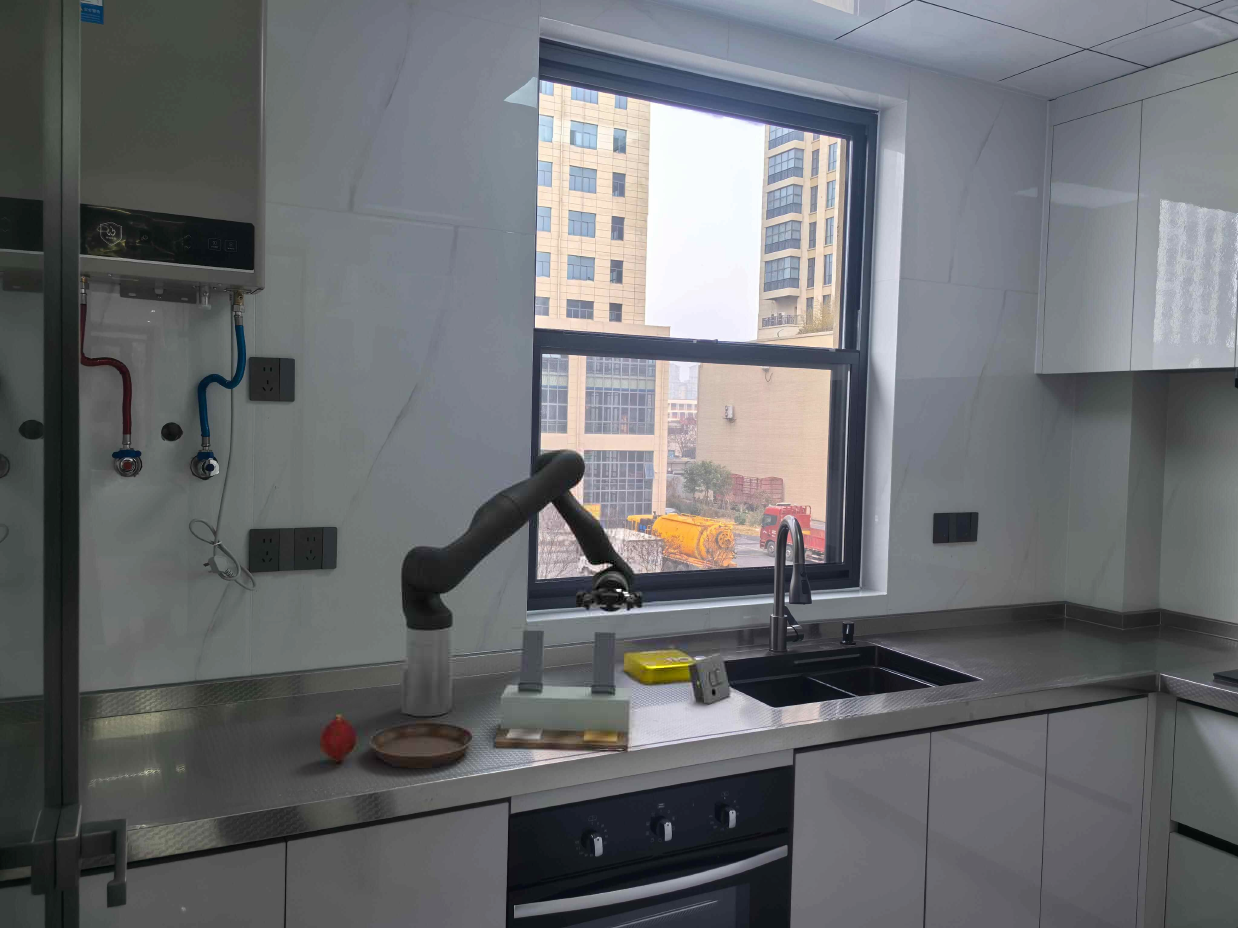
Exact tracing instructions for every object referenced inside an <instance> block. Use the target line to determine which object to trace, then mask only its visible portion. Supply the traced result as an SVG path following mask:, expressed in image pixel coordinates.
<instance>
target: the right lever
mask: <svg viewBox="0 0 1238 928" xmlns="http://www.w3.org/2000/svg"><path fill="white" fill-rule="evenodd" d="M616 633H617V632H602V631H601V632H598V631H597V632H596V631H594V649H593V651H594V652H593V675H592V676H593V678H592V684H591V686H590V687H591V693H615V692H616V688H617V687H616V686H617V685H616V684H615V669H616V667H615V665H616V638H617V637H616V636H617V634H616Z"/></svg>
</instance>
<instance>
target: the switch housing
mask: <svg viewBox="0 0 1238 928" xmlns="http://www.w3.org/2000/svg"><path fill="white" fill-rule="evenodd" d="M630 691H631V689H630V688H629V687H628V688H627V687H626V688H625V687H624V688H623V687H616V692H615V693H591V686H588V687H586V686H556V685H555V686H554V685H553V686H552V685H543V691H518V685H515V684H508V685H507V686H506V688H505V690H504V691H503V693H502V695H501V696H500V729H542V730H564V731H612V732H630V708H631V707H630V706H631V705H630V703H631V701H630V700H631V698H630V697H631V693H630Z"/></svg>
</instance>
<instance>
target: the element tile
mask: <svg viewBox="0 0 1238 928" xmlns="http://www.w3.org/2000/svg"><path fill="white" fill-rule="evenodd" d="M623 657H624V659H623V660H624V664H623V665H624V667H623V671H624V670H625V671H627V672H628V673H629V674H628V673H627V672H626V673H627V674H628V675H630V676H631V675H632V676H631V677H632V678H634V679H635V678H636V679H635V680H637V681H638V682H640V683H641V684H644V685H659V684H673V683H682V682H683V683H684V682H685V681H686V682H691V677H690V672H689V668H688V665H690V664H693V663H696V662H697V660H698V659H695V658H694V657H691V656H690V655H688V654H686V653H684V652H682V651H680V650H678V649H668V650H667V649H666V650H650V651H639V652H638V651H636V652H627V653H625V654H624V655H623ZM625 671H624V672H625ZM698 676H699V675H698ZM696 679H697V678H696ZM686 682H685V683H686Z"/></svg>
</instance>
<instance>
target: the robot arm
mask: <svg viewBox="0 0 1238 928" xmlns="http://www.w3.org/2000/svg"><path fill="white" fill-rule="evenodd" d="M585 470H586V463H585V460H584V458H583V457H582V455H581V454H580V453H579V452H577V451H575V450H573V449H559V450H558V449H557V450H554V451H550V452H549V451H548V452H544V453H542V454H540V455H538V456H537V458H536V459H535V461H534V463H533V467H532V474H533V476H530V477H529V478H526V479H524V480H521V481H519V482H517V483H515V484H513V485H511V486H509V487H506V488H505V489H502V490H501V491H498V493H497V494H494V495H493V496H492V497H491V498H489V499H488V500H487V501H486V502H484V503H483V504H482V505H481V506H479V508H478V509H477V510H476V511H475V513H474V515H473V517H472V519H471V522H470V525H469V527H468V529H467V530H466V531H465V532H464V534H462V535H461V536H460V537H458V538H457V539H455V540H454V541H452V542H451V543H449V544H448V545H446V546H443V547H435V546H430V545H429V546H427V545H419V546H414V547H413V548H411V549H410V550H409V551H408V552H407V553H406V555H405V557H404V558H403V561H402V565H401V571H400V572H401V573H400V576H401V578H400V579H401V580H400V581H401V582H400V583H401V584H400V585H401V586H400V587H401V606H402V612H403V615H404V617H405V622H406V623H405V624H406V625H405V626H406V627H405V664H404V665H402V672H401V673H402V680H401V681H402V682H401V684H402V685H401V686H402V687H401V714H405V715H406V714H407V715H409V716H414V717H435V716H441V715H444V714H448V713H449V712H450V711H452V699H453V698H452V689H453V688H452V687H453V683H452V682H453V681H452V680H453V678H452V677H453V676H452V675H453V623H454V621H453V619H454V617H453V616H454V615H453V612H452V610H450V609H449V608H448V606H447V605H445V603H444V602H443V601H442V599H441V595H443V594H448V593H449V592H451V591H453V590H454V589H455V588H456V587H457V586H459V584H461V583H462V581H463V580H464V579H465V578H466V577H467V576H468V575H469V574H470V573H471V571H473V570H474V568H476V566H478V565H479V564H480V562H482V561H483V560H484V559H485V558H486V557H488V555H490V554H491V553H492V552H494V551H495V550H496V549H497V548H498V547H499V546H500V545H502V544H503V543H504V542H505V541H507V540H508V539H510V538H511V537H512V536H514V534H515V533H517V532H518V531H519V530H520V529H522V528H523V527H524V526H525V525H526V524H527V523H528V522H529V521H531V520H532V519H533V518H534V517H535V516H537V515H538V514H539V513H540V512H541V511H542V510H544V508H545V507H547V506H548V505H549V504H551V503H552V505H553V507H554V508H555V510H556V511H557V512H558V514H559V515H560V516H561V518H562V519H563V520H564V521H565V524H566V525H567V526H568V528H569V529H570V531H571V532H572V534H573V536H574V538H575V539H576V541H577V543H578V546H579V547H580V549H581V551H582V553H583V555H584V557H585V558H586V560H587V562H588V563H589V565H592V566H601V565H606V564H609V565H610V566H608V567H606V568H604V569H602V570H599V571H598V572H596V573H595V574H594V575H593V576H592V579H591V580H592V581H591V582H592V588H593V590H592V591H590V593H587V592H586V591H585V590H583V589H581V590H579V591H577V593H576V594H575V606H576V607H578V608H579V607H582V608H584V609H585V610H587V611H589V610H590V608H595V609H596V608H599V609H600V610H602V611H604V612H607V613H614V612H617V611H619V610H621V609H626V611H628V612H629V611H631V610H632V609H634V607H636V608H638V609H641V608H643V594H642V593H643V592H642V591H639V590H638V591H635V592H633V594H630V593H629V590H631V589H632V588H633V587H634V586H635V585H636V580H637V579H636V574H635V571H634V570H633V568H632V567H631V566H630V565H629V564H628V563H627V562H626V561H625V560H624V558H623V557H622V556H620V554H619V553H618V552H617V551H616V549H615V548H614V546H613V545H612V542H611V541H610V538H609V537H608V535H607V533H606V530H605V529H604V528H603V526H602V524H601V523H600V522H599V520H598V519H597V518H596V517H595V516H594V515H593V514H592V513H591V512H589V510H587V509H586V508H585V507H584V506H583V505H582V504H581V503H580V501H578V499H576V497H575V495H573V492H571V489H574V488H575V487H576V486H577V485H578V484H580V482H581V481H582V479H583V477H584V475H585Z"/></svg>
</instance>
